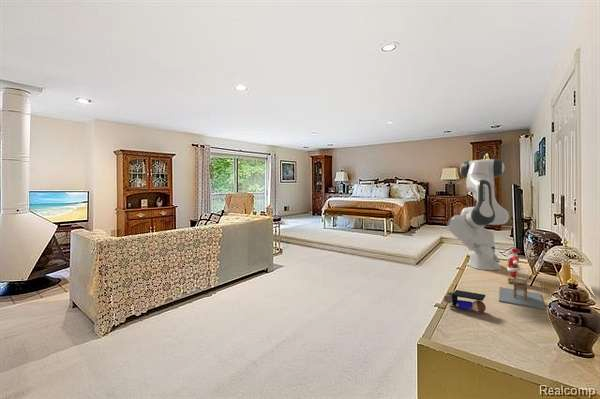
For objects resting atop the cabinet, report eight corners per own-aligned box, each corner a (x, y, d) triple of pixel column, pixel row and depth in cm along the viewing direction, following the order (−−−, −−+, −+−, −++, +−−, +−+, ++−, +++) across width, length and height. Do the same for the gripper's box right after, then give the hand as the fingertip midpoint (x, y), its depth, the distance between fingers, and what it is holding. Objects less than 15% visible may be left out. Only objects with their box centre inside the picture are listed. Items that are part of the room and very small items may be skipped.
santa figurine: (506, 275, 165) (506, 243, 164) (519, 276, 161) (519, 244, 160) (507, 288, 144) (507, 252, 143) (521, 290, 141) (522, 253, 140)
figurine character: (444, 310, 125) (484, 316, 114) (442, 293, 125) (482, 297, 115) (448, 305, 130) (487, 310, 120) (446, 288, 130) (485, 292, 120)
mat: (499, 288, 145) (499, 287, 145) (540, 294, 135) (540, 293, 135) (498, 301, 129) (498, 300, 129) (544, 309, 119) (545, 308, 119)
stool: (513, 293, 136) (513, 276, 135) (526, 296, 133) (527, 278, 132) (513, 297, 131) (513, 279, 131) (527, 299, 128) (527, 281, 128)
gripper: (479, 242, 132) (504, 266, 127) (481, 235, 148) (504, 256, 143) (468, 250, 135) (492, 274, 130) (471, 243, 151) (493, 263, 146)
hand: (498, 264), depth 137 cm, fingers open, 8 cm apart
